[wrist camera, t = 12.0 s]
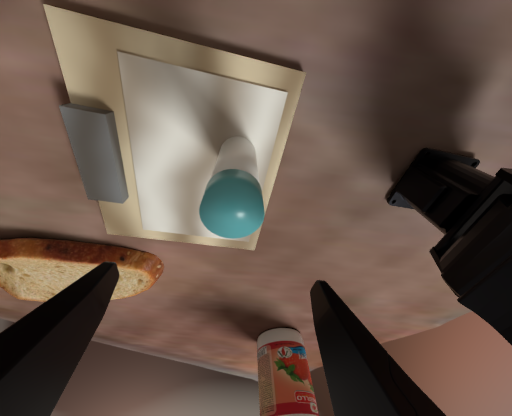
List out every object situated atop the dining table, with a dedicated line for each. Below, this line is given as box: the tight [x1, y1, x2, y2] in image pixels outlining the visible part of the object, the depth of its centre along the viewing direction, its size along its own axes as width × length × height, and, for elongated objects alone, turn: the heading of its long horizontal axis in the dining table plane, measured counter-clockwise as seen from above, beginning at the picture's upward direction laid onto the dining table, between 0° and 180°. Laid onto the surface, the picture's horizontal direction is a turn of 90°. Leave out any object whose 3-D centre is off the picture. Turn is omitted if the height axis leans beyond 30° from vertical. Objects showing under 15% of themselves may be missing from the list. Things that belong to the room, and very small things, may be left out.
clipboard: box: [43, 4, 306, 250], centre depth 19 cm, size 17×19×2 cm
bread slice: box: [0, 238, 164, 302], centre depth 25 cm, size 18×18×4 cm
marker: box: [199, 136, 265, 239], centre depth 14 cm, size 3×3×9 cm
